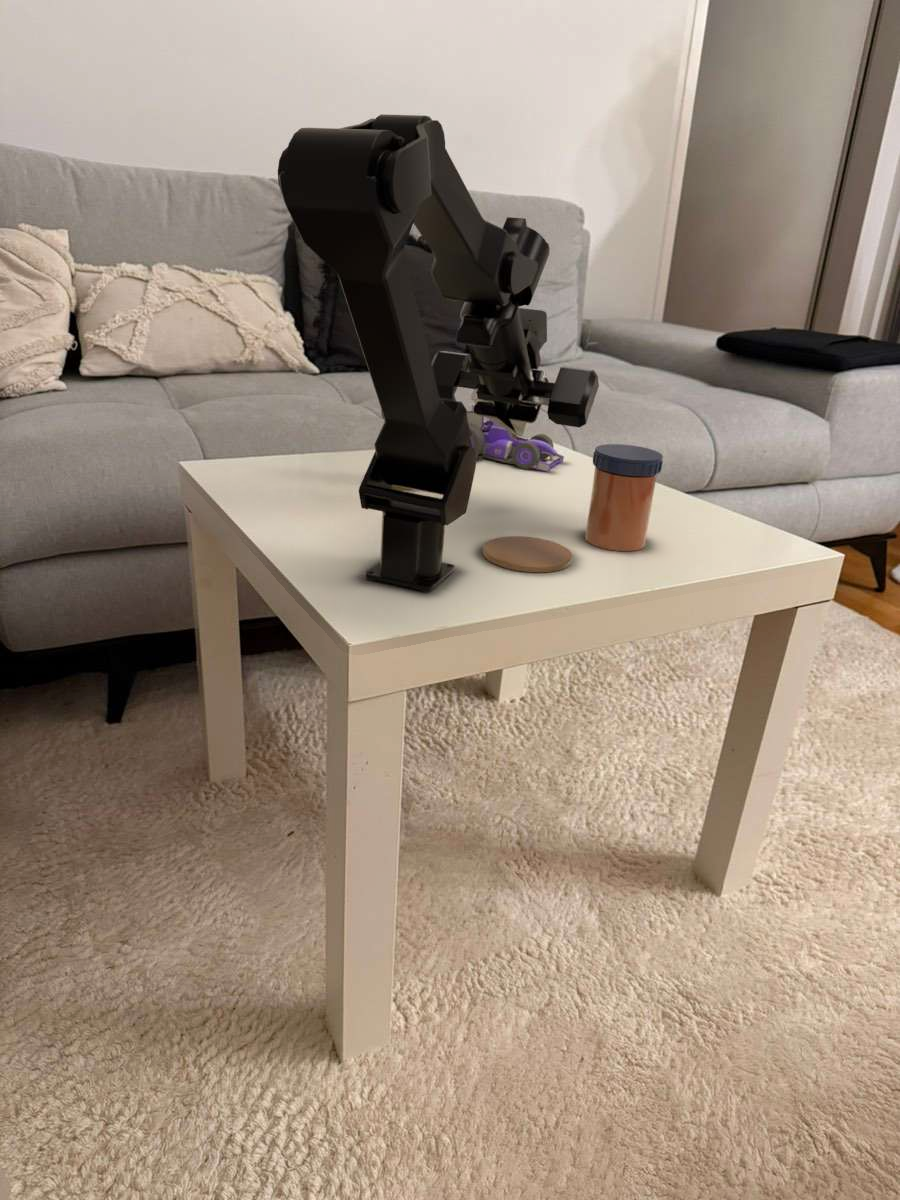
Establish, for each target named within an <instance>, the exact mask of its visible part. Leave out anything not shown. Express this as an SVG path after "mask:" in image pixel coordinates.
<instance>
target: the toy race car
mask: <svg viewBox="0 0 900 1200" xmlns="http://www.w3.org/2000/svg"><path fill="white" fill-rule="evenodd" d="M474 406H475V405H471V410H467V418H468V425H469V428H470V430H471V432H472V437H471V438H470V439H471V442H472V447H473V448H474V449H475V451H476V457H477V456H479V455H481V457H482V458H484V459H489V460H493V461H495V462H500V463H504V464H510V465H516V467H518V468H519V469H521V470H529V469H532V468H533V467H535V466H536V467H535V469H536V470H537V471H538V470H539V471H543V472H546V473H547V472H551V467H553V466H554V465H556V464H557V463H564V459H565V456H564V455H563V454H559V453H558V451H557V450H556V449H555V448H554V443H553V440H552V438H551V437H550V436H548V435H547V434H544V433H538V434H535V435H533V436H532V437H530V438H522V437H521V436H517V435H514V434H513V433H511V432H510V431H508V430H506V429H505V428H503V427H501V426H500V425H498V424H496V423H494V422H492V421H490V420H489V419H487V418H485V417H483V416H480V415H476V414H475V413H474V410H473V409H474ZM547 458H549V459H548V460H547V461H544V460H546V459H547Z"/></svg>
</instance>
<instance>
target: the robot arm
mask: <svg viewBox="0 0 900 1200" xmlns="http://www.w3.org/2000/svg"><path fill="white" fill-rule="evenodd" d="M445 136H446V135H445V131H444V129H443V125H442V123H440V121H439V120H436V119H435V120H434V119H432V117H430V116H429V115H419V114H418V115H417V114H416V115H415V114H379V115H378V116H377V117H375V118H370V119H368V120H365V121H363V122H361V123H359V124H353V125H349V126H343V127H339V128H334V127H333V128H332V127H331V128H330V127H301V128H299V129H298V130H297V131H295V132H294V133H293V134H292V137H291V139H290V140H289V142H288V145H287V147H286V148H285V149H284V150H282V153H281V154H280V157H279V159H278V165H277V182H278V186H279V190H280V193H281V195H282V200H283V203H284V205H285V207H286V209H287V212H288V214H289V215H290V217H291V220H292V222H293V223H294V225H295V228H296V229H297V231H298V233H299V235H300V237H301V240H302V241H303V243H304V244H305V245H306V246H307V247H308V248H309V249H310V250H311V251H312V252H313V253H314V254H315V255H317V257H319V258H320V259H321V260H322V261H323V262H324V263H325V264H326V265H327V266H328V267H330V269H331V270H333V272H335V274H336V275H337V277H338V279H339V282H340V285H341V289H342V292H343V296H344V298H345V301H346V305H347V307H348V310H349V313H350V317H351V319H352V323H353V325H354V326H353V327H354V329H355V332H356V335H357V338H358V341H359V344H360V348H361V350H362V354H363V357H364V360H365V363H366V366H367V369H368V373H369V375H370V378H371V382H372V384H373V388H374V391H375V395H376V397H377V400H378V403H379V406H380V411H381V410H382V413H383V416H384V419H383V420H384V422H383V424H382V427H381V429H380V431H379V433H378V436H377V438H376V440H375V442H374V453H373V455H372V458H371V460H370V463H369V464H368V467H367V469H366V472H365V474H364V476H363V478H362V480H361V483H360V485H359V487H358V495H359V501H360V502H359V503H360V507H361V509H363V510H373V511H379V512H382V514H381V515H382V516H381V517H382V518H381V534H380V535H381V536H380V538H381V539H380V561H378V563H376V564H374V566H372V567H370V568H369V569H367V570H366V571H365V572H364V578H366V579H368V580H373V581H378V582H382V583H387V584H391V585H396V586H400V587H405V588H410V589H413V590H419V591H423V592H431V591H433V590H434V589H435V588H436V587H437V586H438V585H440V584H441V583H442V582H443V581H444V580H445V579H446V578H447V577H449V576H450V575H451V574H452V573H453V572H455V567H456V566H455V565H454V564H453V563H448V562H443V559H444V558H443V556H444V544H445V531H446V526H448V525H450V524H452V523H454V522H455V521H456V520H458V519H459V518H461V517H462V516H464V515H466V513H467V512H468V511H467V510H468V507H469V501H470V496H471V491H472V487H473V482H474V477H475V473H476V468H477V456H476V451H475V449H474V448H473V447H472V442H471V439H470V438H471V437H472V432H471V430H470V428H469V425H468V418H467V411H468V410H467V408H466V407H465V405H464V403H463V402H462V401H457V399H456V396H455V394H456V391H457V389H458V388H463V389H464V388H465V389H470V390H473V391H472V393H471V397H470V398H471V401H474V405H473V406H474V409H473V410H474V413H475V414H476V415H480V416H483V417H485V418H487V419H489V420H490V421H492V422H494V423H496V424H498V425H500V426H501V427H503V428H505V429H506V430H508V431H510V432H511V433H513V434H514V435H516V436H517V437H523V435H524V432H525V429H526V426H527V424H533V423H535V422H536V421H537V420H538V417H539V415H540V411H541V409H542V406H545V407H547V419H548V420H550V421H551V422H553V423H554V424H555V425H561V426H567V427H572V428H573V427H574V428H581V427H584V426H585V425H587V424H588V420H589V416H590V414H591V411H592V408H593V405H594V402H595V399H596V396H597V393H598V389H599V388H600V382H599V376H598V374H597V372H596V371H595V369H589V368H581V367H580V368H579V367H573V366H565V365H564V366H560V367H559V371H558V374H557V376H556V379H555V382H550V381H549V379H548V378H547V377H546V371H545V370H541V369H540V370H539V368H540V364H541V362H542V359H541V353H540V351H541V349H542V348H543V346H544V345H545V344H546V343H547V341H548V313H547V312H546V311H545V310H541V309H534V308H523V306H529V305H530V304H531V303H532V300H533V297H534V295H535V292H536V289H537V286H538V284H539V281H540V279H541V276H542V275H543V271H544V269H545V267H546V263H547V262H548V259H549V256H550V244H549V243H548V242H547V241H546V239H545V238H544V236H542V235H541V233H539V232H538V231H536V230H535V229H534V228H531V227H529V226H528V224H527V219H526V218H524V217H511V216H509V217H508V216H507V217H506V219H505V221H504V224H503V226H502V227H500V226H498V225H496V224H493V223H492V222H489V221H487V220H486V219H485V218H484V217H483V216H482V214H481V213H480V211H479V208H478V206H477V205H476V203H475V201H474V200H473V197H472V196H471V194H470V192H469V190H468V188H467V186H466V184H465V182H464V181H463V179H462V177H461V175H460V173H459V171H458V169H457V167H456V165H455V163H454V162H453V159H452V158H451V156H450V154H449V152H448V149H446V138H445ZM413 225H414V226H415V228H416V229H417V231H418V233H419V234H420V236H421V237H422V238H423V240H424V241H425V243H426V244H427V245H428V247H429V248H430V250H431V251H432V254H433V256H434V257H433V261H432V262H433V263H432V266H431V269H430V274H431V277H432V278H433V281H434V283H435V285H436V287H437V289H438V292H439V293H440V296H441V297H442V298H443V299H444V300H445V301H454V302H463V304H462V306H461V309H460V312H459V317H460V321H461V322H460V324H459V325H458V329H457V331H456V336H455V337H456V339H455V342H456V344H457V345H465V346H466V345H467V346H468V348H469V350H470V353H462V352H454V351H447V350H441V351H437V352H436V353H435V354H434V356H433V358H432V360H431V356H430V353H429V348H428V344H427V339H426V336H425V332H424V327H423V323H422V318H421V315H420V311H419V307H418V302H417V298H416V294H415V290H414V286H413V282H412V278H411V274H410V270H409V269H410V268H409V264H408V262H407V257H406V251H405V246H406V243H407V241H408V238H409V236H410V233H411V231H412V228H413ZM382 413H381V414H382ZM392 485H393V486H398V487H404V488H409V489H412V490H414V491H420V492H426V493H430V494H435V495H441V496H442V498H440V497H435V496H429V495H425V494H419V493H414V492H410V491H405V490H394V489H392Z"/></svg>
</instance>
